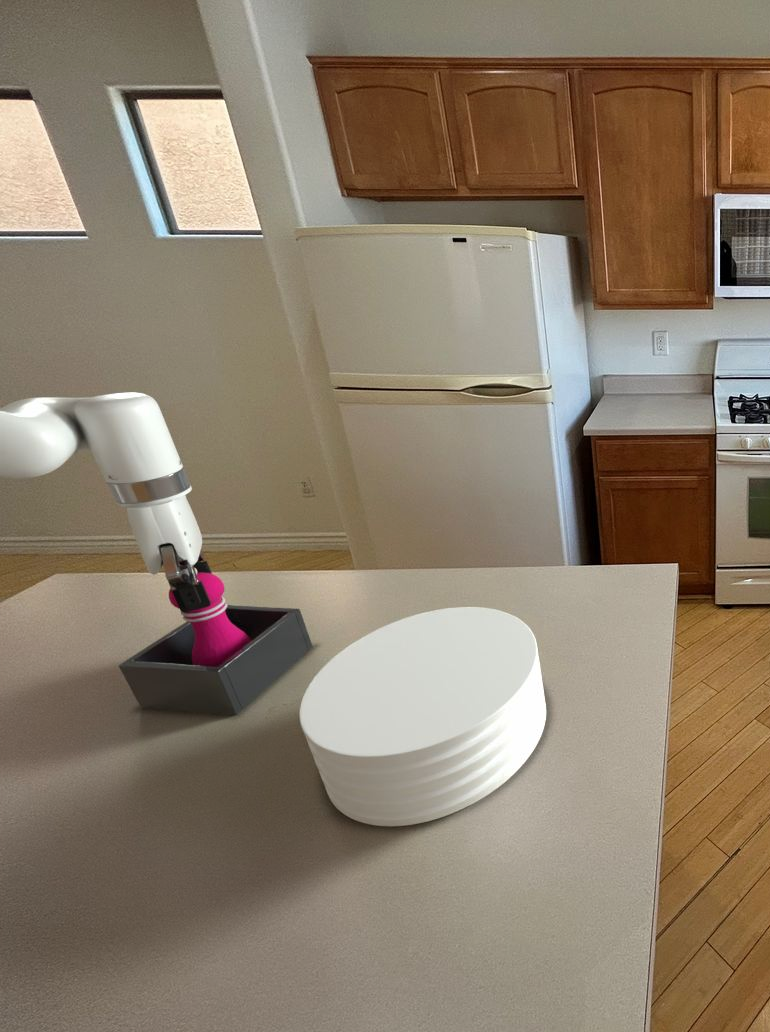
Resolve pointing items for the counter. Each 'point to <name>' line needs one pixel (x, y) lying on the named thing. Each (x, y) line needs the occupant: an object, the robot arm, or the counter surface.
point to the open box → (232, 685)
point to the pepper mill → (212, 625)
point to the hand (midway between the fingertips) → (199, 596)
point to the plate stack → (425, 714)
